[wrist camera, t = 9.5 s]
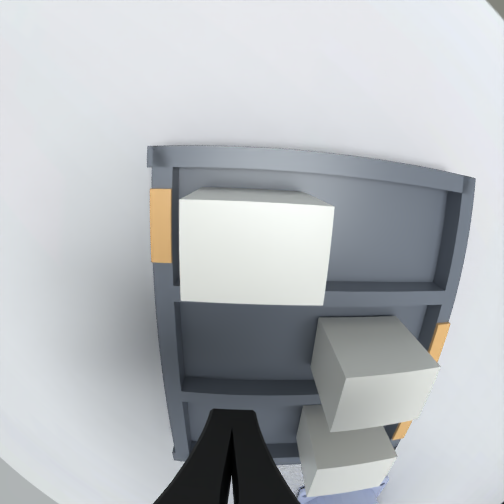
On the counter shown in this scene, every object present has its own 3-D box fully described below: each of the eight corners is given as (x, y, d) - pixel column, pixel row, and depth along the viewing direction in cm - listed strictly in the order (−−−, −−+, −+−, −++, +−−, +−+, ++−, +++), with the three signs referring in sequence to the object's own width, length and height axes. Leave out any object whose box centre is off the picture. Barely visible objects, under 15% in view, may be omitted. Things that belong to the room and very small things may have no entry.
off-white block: (382, 362, 15) (417, 418, 10) (310, 367, 15) (330, 432, 10) (395, 315, 14) (440, 366, 10) (318, 317, 14) (346, 377, 9)
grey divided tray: (383, 427, 18) (395, 453, 16) (179, 433, 18) (173, 462, 15) (447, 174, 13) (478, 178, 11) (163, 148, 13) (146, 145, 10)
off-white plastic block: (297, 259, 13) (322, 305, 9) (201, 255, 13) (180, 300, 9) (303, 191, 12) (334, 206, 8) (202, 187, 12) (179, 199, 8)
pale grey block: (358, 431, 16) (379, 486, 12) (296, 437, 16) (306, 497, 12) (370, 400, 15) (397, 456, 11) (303, 405, 15) (317, 469, 11)
